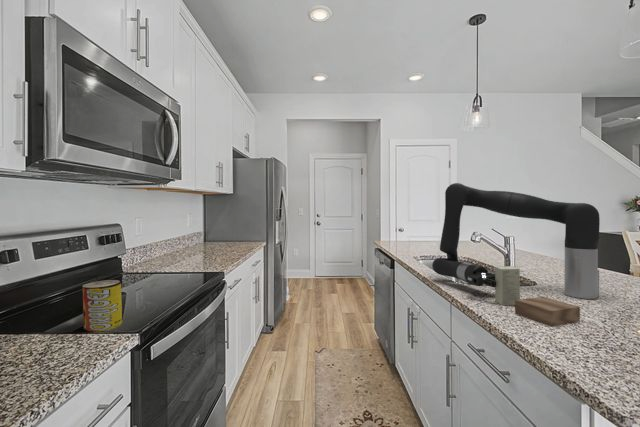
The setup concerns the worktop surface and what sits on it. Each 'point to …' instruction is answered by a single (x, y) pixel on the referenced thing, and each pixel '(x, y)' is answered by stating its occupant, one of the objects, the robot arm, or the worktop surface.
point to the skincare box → (507, 285)
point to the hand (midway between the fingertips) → (506, 283)
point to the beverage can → (102, 305)
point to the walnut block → (547, 311)
